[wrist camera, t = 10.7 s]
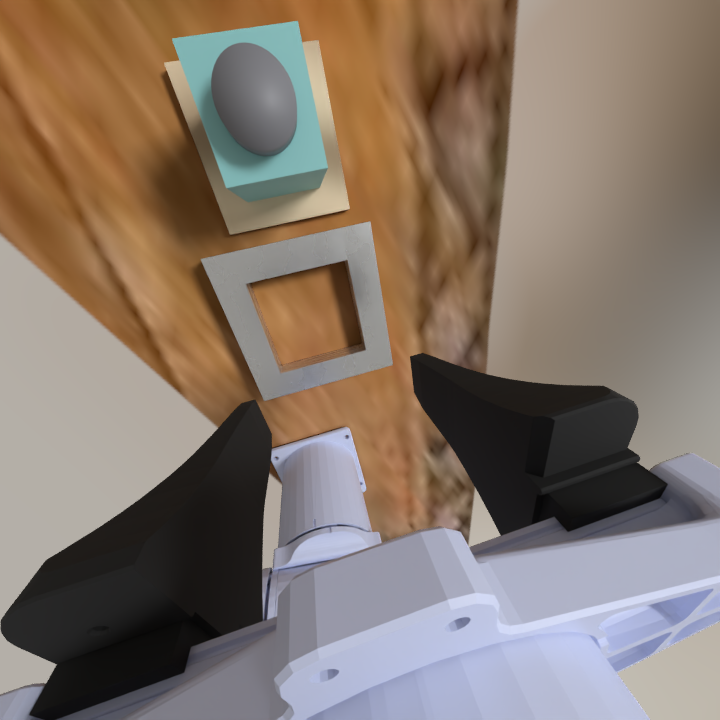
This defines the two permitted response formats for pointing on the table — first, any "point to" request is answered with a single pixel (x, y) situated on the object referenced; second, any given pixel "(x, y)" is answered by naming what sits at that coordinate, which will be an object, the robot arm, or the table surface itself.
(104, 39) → the table surface
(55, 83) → the table surface
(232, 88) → the teal cube with dome
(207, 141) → the cork coaster
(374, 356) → the block
